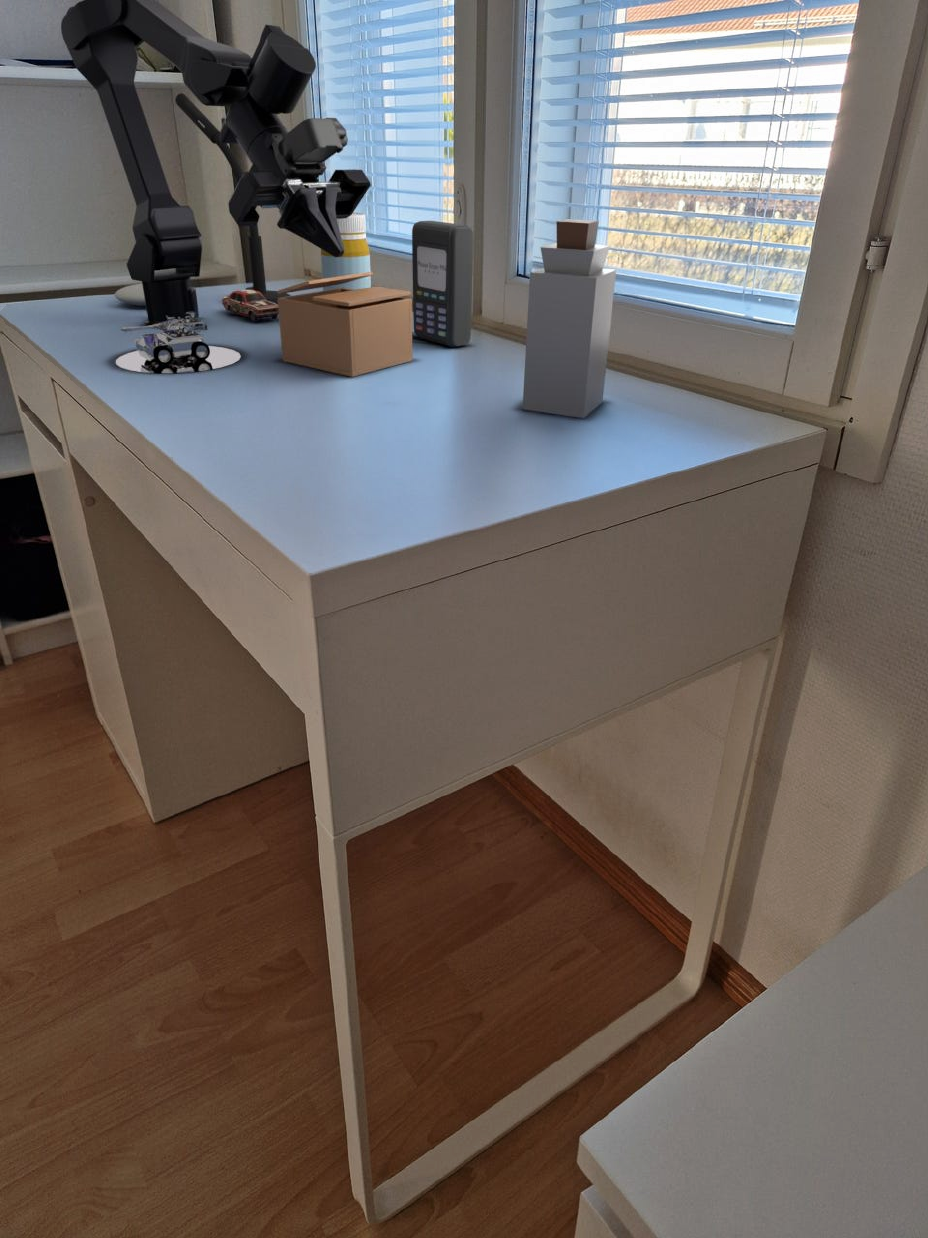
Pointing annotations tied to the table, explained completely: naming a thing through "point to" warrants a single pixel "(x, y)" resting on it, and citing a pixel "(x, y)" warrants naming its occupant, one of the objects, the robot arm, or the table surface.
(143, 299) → the cushion
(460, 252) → the card reader
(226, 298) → the race car
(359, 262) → the bottle
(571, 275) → the perfume bottle
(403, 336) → the carton
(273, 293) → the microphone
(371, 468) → the table surface
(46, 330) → the table surface
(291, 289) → the lid flap
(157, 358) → the toy car
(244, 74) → the robot arm
